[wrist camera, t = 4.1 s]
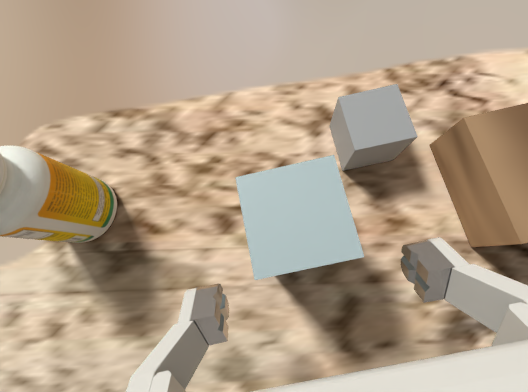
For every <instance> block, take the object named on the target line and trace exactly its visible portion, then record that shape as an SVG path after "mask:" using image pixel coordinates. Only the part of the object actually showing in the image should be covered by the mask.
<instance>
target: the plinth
mask: <svg viewBox="0 0 528 392" xmlns="http://www.w3.org/2000/svg"><path fill="white" fill-rule="evenodd" d="M430 147H431V150H432V152H433V155H434V157H435V160H436V162H437V165H438V167H439V169H440V172H441V174H442V177H443V179H444V182H445V184H446V187H447V189H448V192H449V194H450V196H451V199H452V201H453V204H454V206H455V209H456V211H457V214H458V216H459V219H460V221H461V223H462V226H463V228H464V231H465V233H466V236H467V238H468V241H469V243H470V246H471V247H481V246H497V245H513V244H524V243H528V103H526V104H522V105H517V106H513V107H509V108H504V109H500V110H495V111H491V112H487V113H482V114H478V115H474V116H469V117H465V118H463V119H461V120H460V121H459V122H458V123H457V124H455V125H454V126H453V127H452V128H450V129H449V130H448V131H447V132H445V133H444V134H443V135H442V136H440V137H439V138H438V139H437V140H435V141H434V142H433V143H432V144H430Z"/></svg>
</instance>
